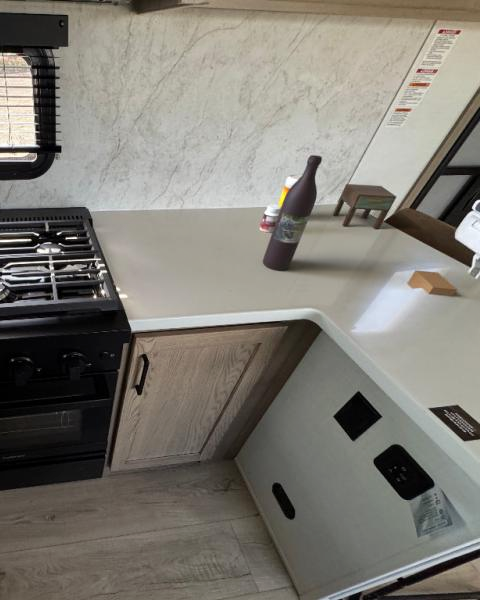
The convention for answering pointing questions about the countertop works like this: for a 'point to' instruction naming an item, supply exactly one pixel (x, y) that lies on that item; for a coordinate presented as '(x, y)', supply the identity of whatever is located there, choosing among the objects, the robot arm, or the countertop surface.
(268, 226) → the pill bottle
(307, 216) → the wine bottle
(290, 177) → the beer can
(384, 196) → the drawer table
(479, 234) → the robot arm
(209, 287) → the countertop surface
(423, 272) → the storage box
